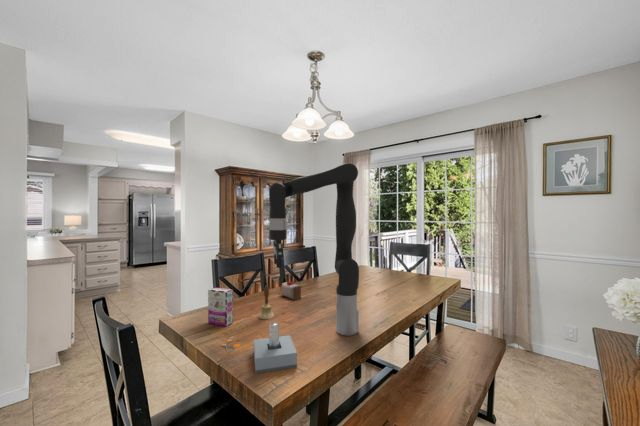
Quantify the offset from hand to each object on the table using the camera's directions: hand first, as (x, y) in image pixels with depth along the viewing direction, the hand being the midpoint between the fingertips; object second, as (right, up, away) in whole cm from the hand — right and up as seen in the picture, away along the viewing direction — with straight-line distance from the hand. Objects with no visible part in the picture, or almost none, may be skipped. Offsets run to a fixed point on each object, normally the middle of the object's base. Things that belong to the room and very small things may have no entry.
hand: (277, 265), depth 122 cm
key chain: (-18, -31, -9) cm, 37 cm away
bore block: (+2, -30, -21) cm, 37 cm away
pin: (+2, -29, -21) cm, 36 cm away
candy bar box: (-29, -30, +12) cm, 44 cm away
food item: (0, -30, +53) cm, 61 cm away
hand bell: (-9, -30, +20) cm, 38 cm away
